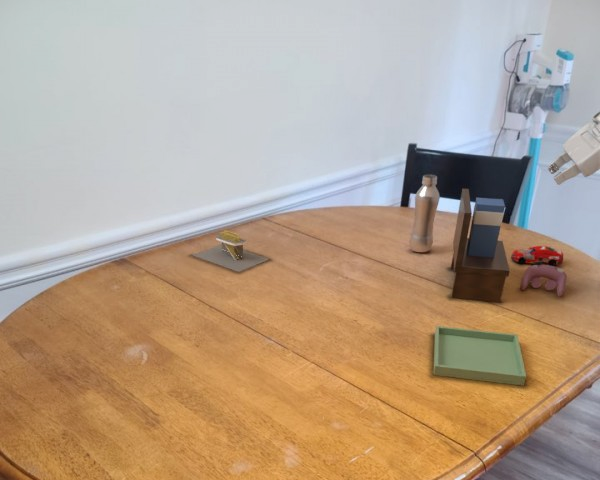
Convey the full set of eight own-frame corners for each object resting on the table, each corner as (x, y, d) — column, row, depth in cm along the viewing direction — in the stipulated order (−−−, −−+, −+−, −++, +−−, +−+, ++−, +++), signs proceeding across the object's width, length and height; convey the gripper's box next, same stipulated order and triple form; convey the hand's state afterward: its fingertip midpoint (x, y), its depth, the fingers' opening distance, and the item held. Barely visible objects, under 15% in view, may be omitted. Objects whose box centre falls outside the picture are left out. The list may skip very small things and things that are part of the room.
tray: (515, 343, 116) (517, 334, 114) (523, 385, 103) (526, 376, 101) (434, 334, 118) (436, 325, 117) (433, 375, 105) (435, 365, 104)
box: (492, 249, 137) (503, 199, 130) (494, 257, 132) (505, 206, 126) (466, 247, 138) (476, 197, 131) (467, 255, 133) (477, 204, 127)
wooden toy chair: (495, 270, 147) (513, 191, 135) (502, 303, 131) (522, 216, 119) (448, 266, 149) (462, 188, 137) (449, 298, 133) (464, 212, 121)
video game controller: (561, 298, 137) (569, 269, 136) (562, 297, 133) (571, 267, 132) (519, 290, 140) (526, 262, 139) (519, 289, 136) (526, 260, 135)
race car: (511, 264, 151) (514, 249, 149) (509, 256, 155) (512, 242, 153) (563, 267, 149) (567, 252, 147) (559, 260, 154) (563, 245, 151)
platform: (238, 272, 144) (237, 247, 140) (191, 255, 154) (189, 231, 150) (270, 259, 152) (269, 235, 148) (223, 243, 161) (221, 220, 157)
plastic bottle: (402, 250, 158) (412, 175, 147) (418, 245, 162) (428, 172, 150) (420, 256, 154) (431, 180, 143) (436, 251, 158) (448, 176, 146)
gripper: (636, 152, 108) (568, 200, 116) (612, 133, 125) (553, 176, 132) (619, 125, 107) (551, 176, 114) (597, 110, 123) (538, 154, 130)
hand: (552, 176), depth 123 cm, fingers open, 8 cm apart
